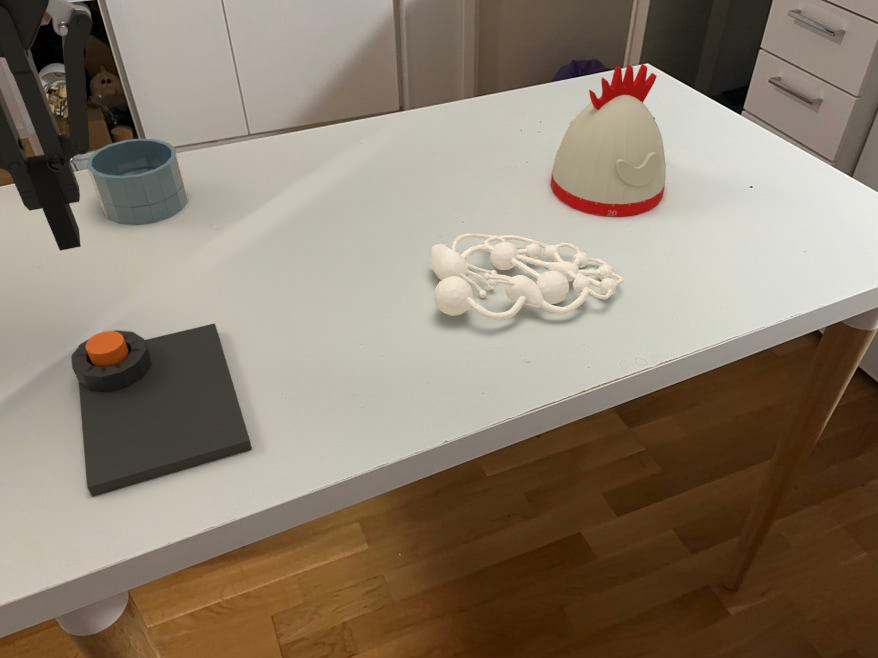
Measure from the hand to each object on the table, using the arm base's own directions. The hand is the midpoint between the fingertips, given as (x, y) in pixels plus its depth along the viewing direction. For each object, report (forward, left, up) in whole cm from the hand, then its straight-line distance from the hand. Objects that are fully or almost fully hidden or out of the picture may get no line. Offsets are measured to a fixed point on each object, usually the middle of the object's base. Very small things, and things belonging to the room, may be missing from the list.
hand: (69, 239), depth 59 cm
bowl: (-16, +19, -13) cm, 29 cm away
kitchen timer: (+27, +52, -13) cm, 60 cm away
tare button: (+1, -1, -11) cm, 11 cm away
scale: (+7, -2, -13) cm, 15 cm away
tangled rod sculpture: (+26, +28, -13) cm, 41 cm away
